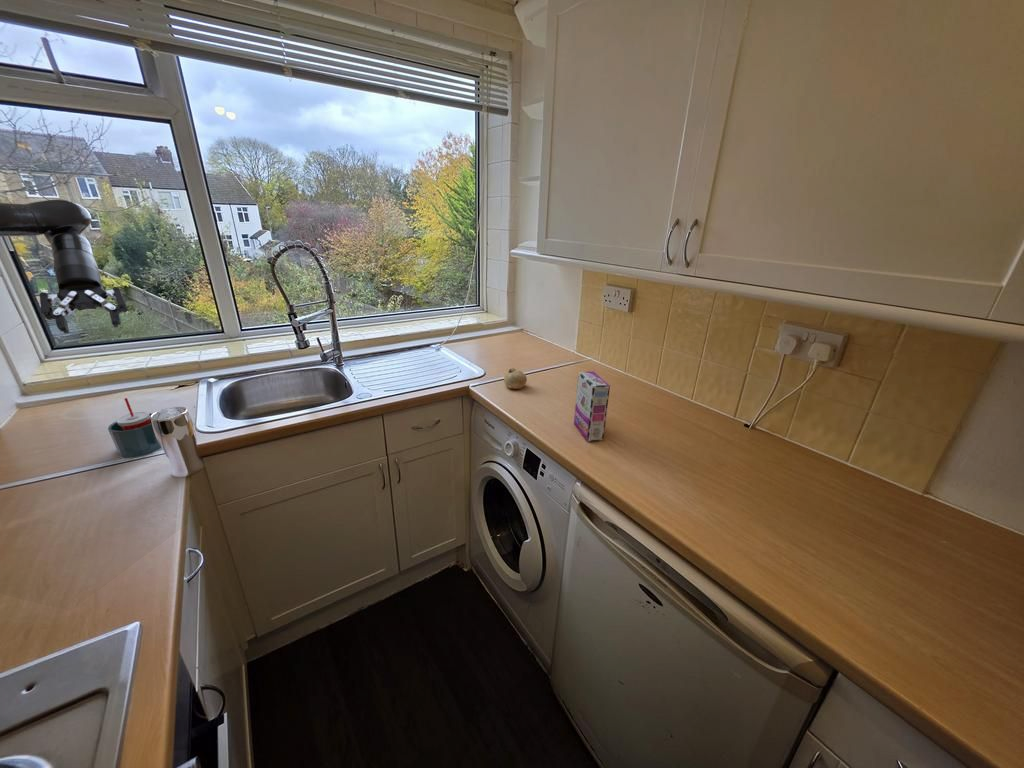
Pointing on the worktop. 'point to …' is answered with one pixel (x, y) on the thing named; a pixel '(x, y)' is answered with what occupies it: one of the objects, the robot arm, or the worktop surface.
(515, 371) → the onion
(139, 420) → the beverage cup
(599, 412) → the candy bar box
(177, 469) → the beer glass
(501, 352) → the worktop surface
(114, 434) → the teal round pot
